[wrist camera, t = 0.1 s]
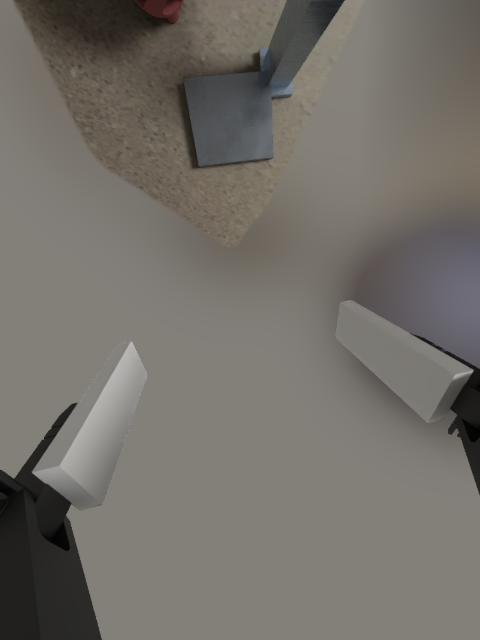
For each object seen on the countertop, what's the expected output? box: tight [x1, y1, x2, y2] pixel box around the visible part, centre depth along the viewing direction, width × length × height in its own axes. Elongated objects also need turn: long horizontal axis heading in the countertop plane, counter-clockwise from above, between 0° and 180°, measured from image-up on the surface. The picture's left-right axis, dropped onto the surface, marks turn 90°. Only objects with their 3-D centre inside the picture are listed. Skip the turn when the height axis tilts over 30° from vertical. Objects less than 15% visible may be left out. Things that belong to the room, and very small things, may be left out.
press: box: [183, 0, 345, 168], centre depth 22 cm, size 11×15×14 cm
